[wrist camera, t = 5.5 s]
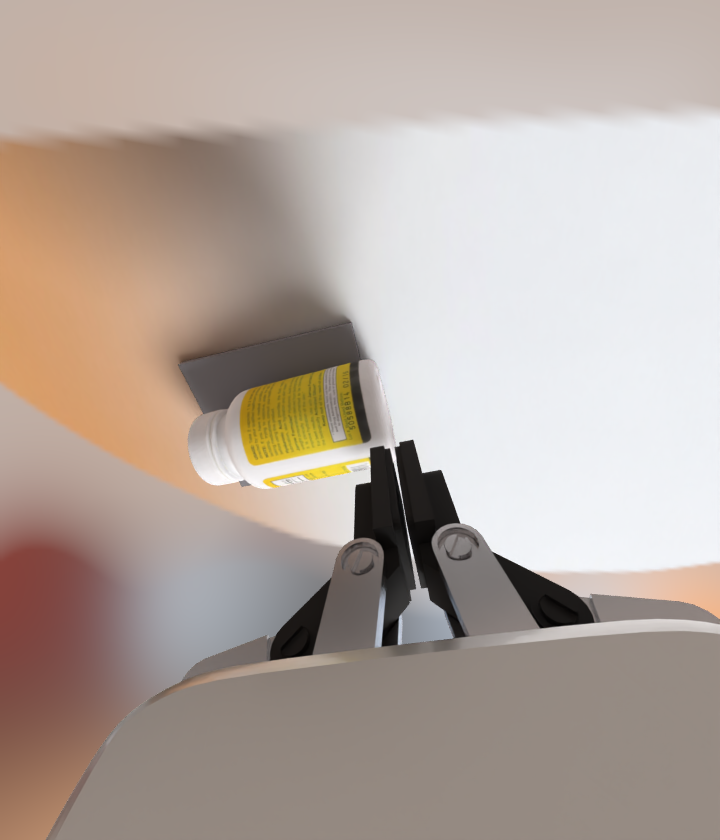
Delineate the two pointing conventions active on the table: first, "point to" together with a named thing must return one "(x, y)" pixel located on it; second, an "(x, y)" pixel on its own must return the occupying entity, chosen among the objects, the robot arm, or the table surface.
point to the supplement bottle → (295, 429)
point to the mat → (267, 365)
